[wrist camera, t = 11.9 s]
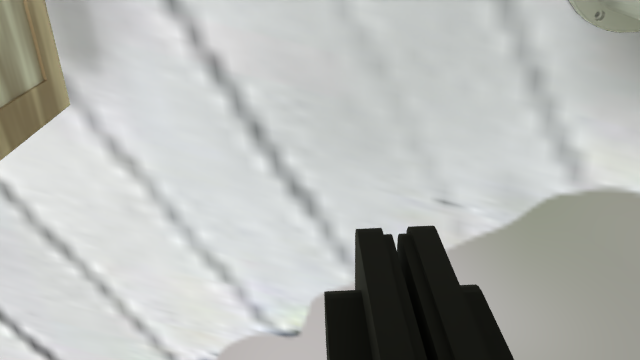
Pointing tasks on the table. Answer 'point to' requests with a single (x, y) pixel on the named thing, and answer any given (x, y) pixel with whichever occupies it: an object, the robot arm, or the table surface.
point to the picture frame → (27, 72)
